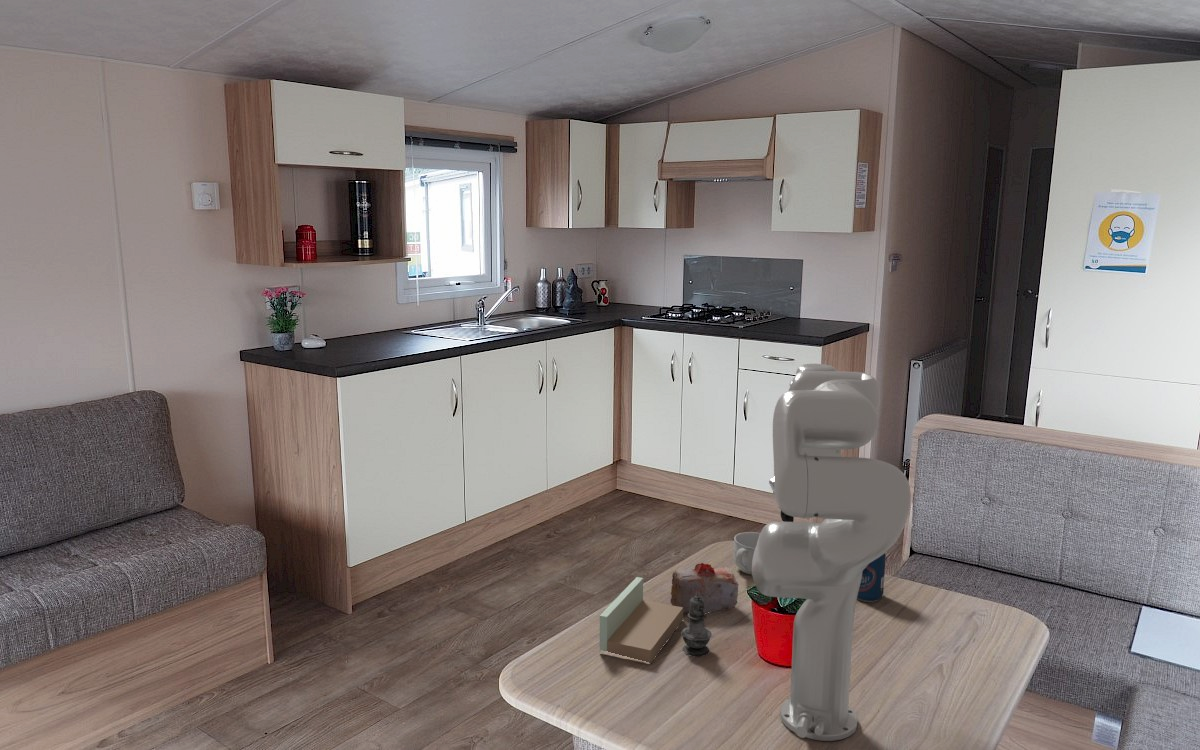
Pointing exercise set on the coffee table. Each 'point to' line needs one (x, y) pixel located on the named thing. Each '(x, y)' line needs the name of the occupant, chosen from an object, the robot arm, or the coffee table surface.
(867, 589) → the soda can
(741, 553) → the teacup
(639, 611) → the cleat board
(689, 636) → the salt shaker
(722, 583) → the food item
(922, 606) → the coffee table surface
